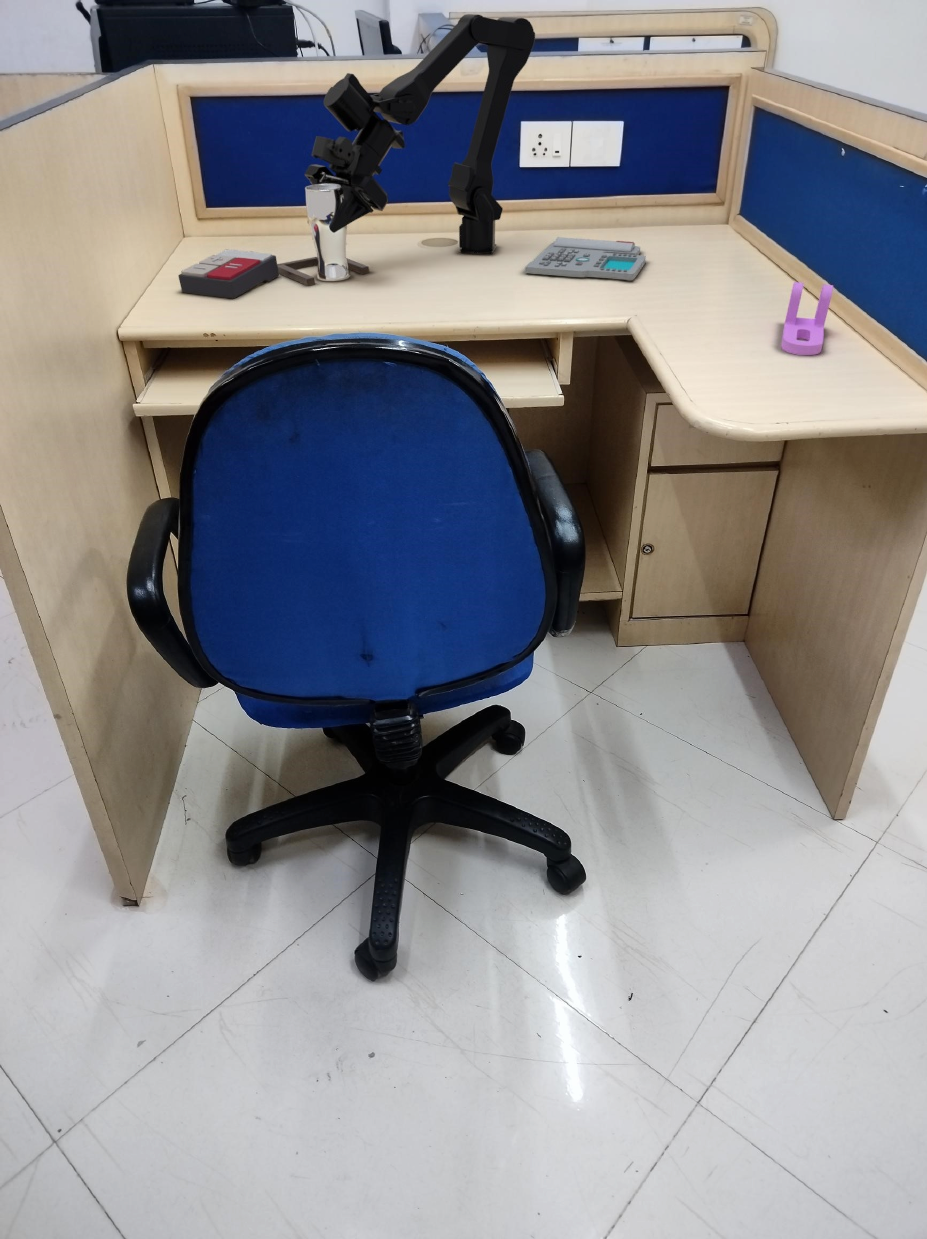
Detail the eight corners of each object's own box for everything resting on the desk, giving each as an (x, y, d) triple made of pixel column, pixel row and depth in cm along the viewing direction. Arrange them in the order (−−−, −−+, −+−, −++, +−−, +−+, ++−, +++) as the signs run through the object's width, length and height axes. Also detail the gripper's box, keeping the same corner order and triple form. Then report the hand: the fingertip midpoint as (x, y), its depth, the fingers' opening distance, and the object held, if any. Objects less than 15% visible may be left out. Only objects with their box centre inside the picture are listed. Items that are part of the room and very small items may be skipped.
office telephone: (555, 232, 172) (653, 239, 167) (554, 245, 174) (652, 253, 169) (525, 258, 155) (634, 267, 149) (524, 273, 156) (632, 283, 151)
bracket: (784, 325, 132) (794, 279, 128) (821, 328, 131) (833, 282, 127) (780, 352, 123) (791, 303, 118) (820, 357, 121) (833, 307, 117)
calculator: (175, 270, 146) (225, 245, 156) (181, 295, 148) (229, 269, 159) (229, 276, 142) (276, 250, 153) (234, 302, 145) (280, 275, 156)
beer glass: (357, 272, 157) (349, 183, 149) (346, 282, 152) (337, 190, 143) (321, 271, 159) (311, 182, 150) (309, 281, 153) (298, 190, 144)
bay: (369, 272, 158) (369, 266, 157) (307, 285, 151) (306, 278, 150) (334, 259, 165) (333, 253, 165) (274, 271, 159) (273, 264, 158)
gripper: (308, 112, 148) (261, 188, 149) (369, 120, 137) (317, 203, 137) (349, 159, 157) (304, 231, 158) (409, 170, 145) (361, 248, 146)
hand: (320, 227), depth 149 cm, fingers closed on beer glass, 7 cm apart
